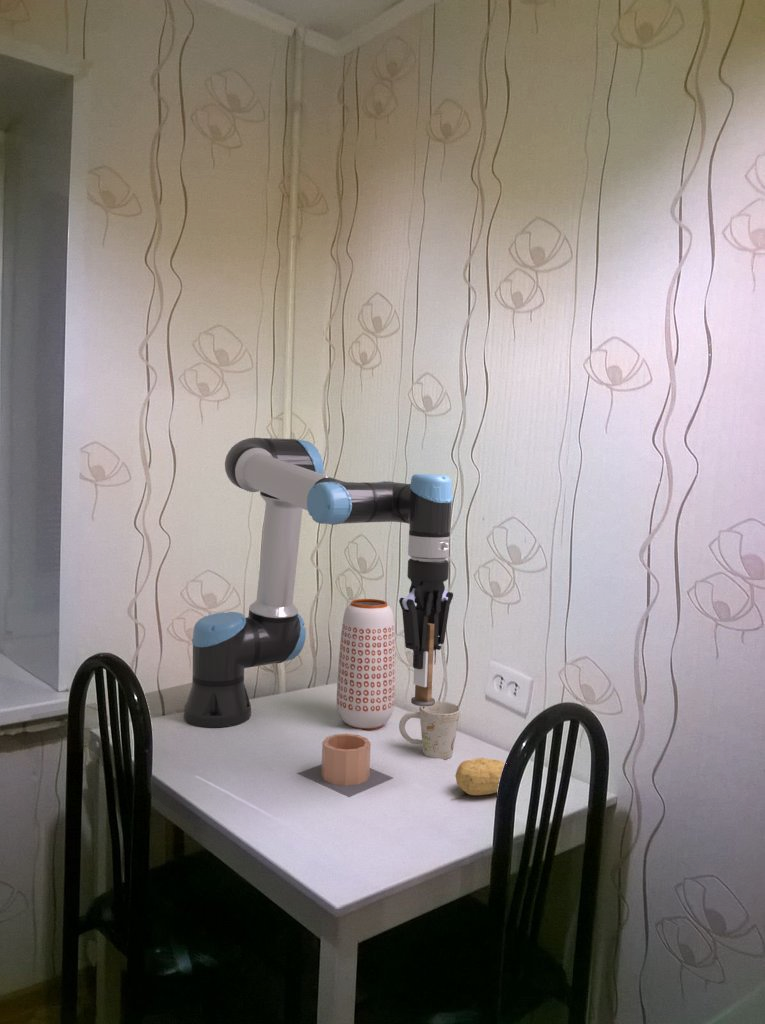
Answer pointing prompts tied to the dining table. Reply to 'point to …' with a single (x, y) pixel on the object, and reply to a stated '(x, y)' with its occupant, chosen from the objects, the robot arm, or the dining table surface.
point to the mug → (435, 728)
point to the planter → (366, 665)
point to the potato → (479, 776)
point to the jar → (345, 759)
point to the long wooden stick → (425, 693)
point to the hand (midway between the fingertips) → (423, 684)
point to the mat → (350, 790)
